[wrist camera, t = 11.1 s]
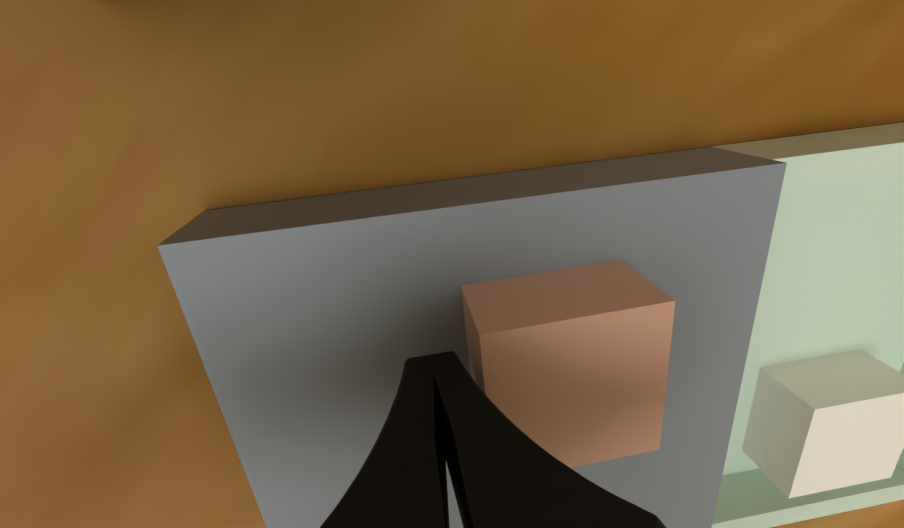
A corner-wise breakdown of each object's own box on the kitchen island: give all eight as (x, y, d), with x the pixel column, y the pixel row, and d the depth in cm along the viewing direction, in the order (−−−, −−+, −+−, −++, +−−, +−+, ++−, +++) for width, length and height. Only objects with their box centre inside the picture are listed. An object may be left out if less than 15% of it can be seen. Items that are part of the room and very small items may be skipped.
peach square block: (614, 388, 14) (659, 449, 12) (475, 415, 14) (494, 483, 11) (620, 258, 12) (675, 300, 10) (460, 285, 12) (479, 334, 10)
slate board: (663, 491, 21) (705, 554, 18) (320, 559, 19) (309, 638, 17) (711, 146, 14) (787, 162, 12) (205, 210, 13) (157, 245, 10)
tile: (788, 498, 17) (741, 449, 20) (891, 477, 18) (833, 431, 20) (814, 409, 16) (760, 367, 18) (928, 388, 16) (860, 349, 18)
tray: (874, 450, 22) (931, 493, 20) (663, 491, 21) (698, 542, 19) (1005, 109, 15) (1111, 115, 13) (711, 146, 14) (772, 159, 12)
